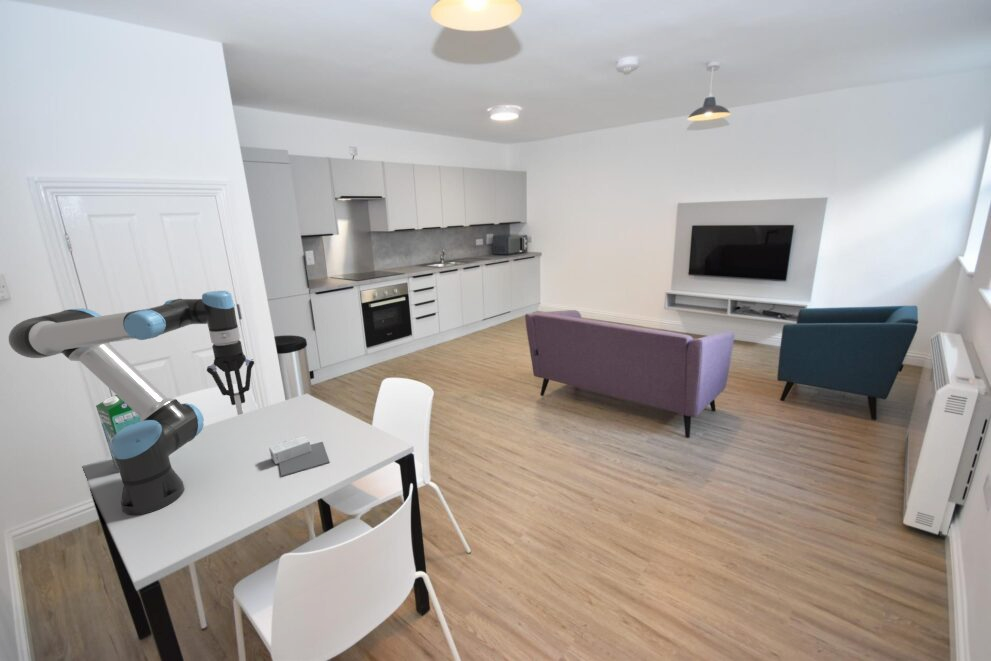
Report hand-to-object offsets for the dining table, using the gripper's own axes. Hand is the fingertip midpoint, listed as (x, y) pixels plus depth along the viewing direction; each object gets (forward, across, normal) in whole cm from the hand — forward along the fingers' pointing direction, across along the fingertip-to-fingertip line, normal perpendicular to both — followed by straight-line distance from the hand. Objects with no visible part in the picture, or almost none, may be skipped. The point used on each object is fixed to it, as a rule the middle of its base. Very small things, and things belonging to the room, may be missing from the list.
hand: (240, 412), depth 138 cm
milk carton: (+23, -36, +32) cm, 53 cm away
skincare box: (+19, +6, +3) cm, 20 cm away
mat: (+21, +16, 0) cm, 27 cm away
